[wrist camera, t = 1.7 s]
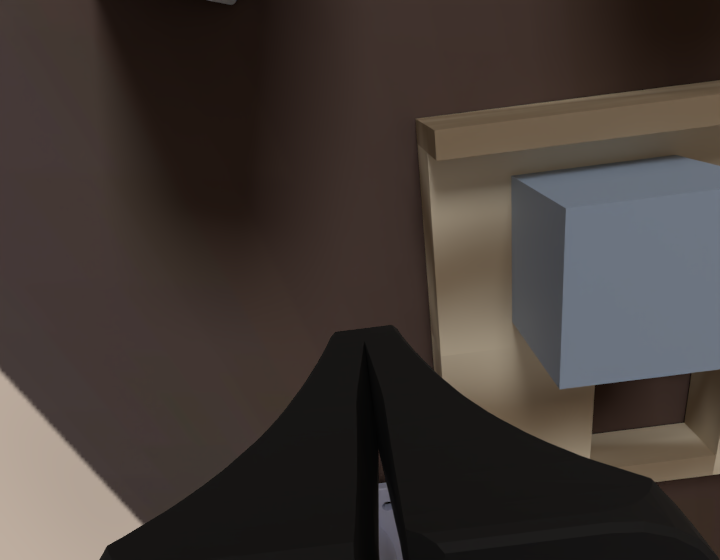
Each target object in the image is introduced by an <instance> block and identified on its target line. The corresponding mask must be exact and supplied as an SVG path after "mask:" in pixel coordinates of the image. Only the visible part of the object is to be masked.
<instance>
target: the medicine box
mask: <svg viewBox="0 0 720 560" xmlns="http://www.w3.org/2000/svg"><path fill="white" fill-rule="evenodd" d="M208 1H213V2H218V3H223V4H229V5H233V4H234V3H236V1H237V0H208Z"/></svg>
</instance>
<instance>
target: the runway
mask: <svg viewBox="0 0 720 560" xmlns="http://www.w3.org/2000/svg"><path fill="white" fill-rule="evenodd" d="M416 132H417V146H418V159H419V173H420V187H421V200H422V214H423V227H424V241H425V255H426V268H427V282H428V295H429V309H430V323H431V336H432V350H433V363H434V371H435V372H436V373H437V374H438V375H440V376H441V377H442V378H443V379H444V380H445V381H446V382H448V383H449V384H450V385H451V386H452V387H454V388H455V389H456V390H457V391H459V392H460V393H461V394H463V395H464V396H465V397H466V398H468V399H469V400H471V401H472V402H474V403H476V404H477V405H479V406H480V407H482V408H483V409H485V410H486V411H488V412H489V413H491V414H493V415H495V416H496V417H498V418H500V419H502V420H503V421H505V422H507V423H509V424H511V425H513V426H515V427H517V428H519V429H521V430H523V431H525V432H526V433H529V434H531V435H533V436H535V437H537V438H539V439H542V440H544V441H546V442H548V443H551V444H553V445H556V446H558V447H561V448H563V449H566V450H568V451H570V452H573V453H575V454H578V455H580V456H583V457H586V458H589V459H592V460H595V461H598V462H601V463H604V464H608V465H611V466H614V467H617V468H620V469H623V470H627V471H630V472H633V473H636V474H639V475H642V476H646V477H649V478H651V479H652V480H653V481H654V482H660V481H668V480H676V479H684V478H692V477H700V476H708V475H716V474H720V369H719V370H711V371H703V372H695V373H692V374H691V381H690V387H689V394H688V401H687V407H686V414H685V421H684V423H678V424H670V425H662V426H654V427H646V428H638V429H630V430H622V431H614V432H606V433H598V434H592V421H593V406H594V391H595V385H591V386H583V387H575V388H567V389H559V388H558V387H557V385H556V384H555V382H554V381H553V379H552V378H551V377H550V375H549V374H548V372H547V371H546V369H545V368H544V367H543V365H542V364H541V362H540V361H539V359H538V358H537V357H536V355H535V354H534V352H533V351H532V349H531V348H530V347H529V345H528V344H527V342H526V341H525V339H524V338H523V337H522V335H521V334H520V332H519V331H518V330H517V328H516V327H515V325H514V324H513V322H512V204H511V176H513V175H521V174H528V173H536V172H544V171H552V170H560V169H568V168H576V167H584V166H592V165H599V164H607V163H615V162H623V161H631V160H639V159H647V158H655V157H663V156H671V155H678V156H682V157H686V158H690V159H694V160H698V161H702V162H706V163H710V164H714V165H718V166H720V80H716V81H709V82H701V83H693V84H685V85H677V86H669V87H661V88H654V89H646V90H638V91H630V92H622V93H614V94H606V95H599V96H591V97H583V98H575V99H567V100H559V101H551V102H544V103H536V104H528V105H520V106H512V107H504V108H496V109H489V110H481V111H473V112H465V113H457V114H449V115H441V116H434V117H426V118H418V119H416Z"/></svg>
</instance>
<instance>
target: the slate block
mask: <svg viewBox="0 0 720 560" xmlns="http://www.w3.org/2000/svg"><path fill="white" fill-rule="evenodd" d="M511 204H512V322H513V324H514V325H515V327H516V328H517V330H518V331H519V332H520V334H521V335H522V337H523V338H524V339H525V341H526V342H527V344H528V345H529V347H530V348H531V349H532V351H533V352H534V354H535V355H536V357H537V358H538V359H539V361H540V362H541V364H542V365H543V367H544V368H545V369H546V371H547V372H548V374H549V375H550V377H551V378H552V379H553V381H554V382H555V384H556V385H557V387H558V388H559V389H567V388H575V387H583V386H591V385H599V384H607V383H615V382H623V381H631V380H639V379H647V378H655V377H663V376H671V375H679V374H687V373H695V372H703V371H711V370H719V369H720V166H718V165H714V164H710V163H706V162H702V161H698V160H694V159H690V158H686V157H682V156H678V155H671V156H663V157H655V158H647V159H639V160H631V161H623V162H615V163H607V164H599V165H592V166H584V167H576V168H568V169H560V170H552V171H544V172H536V173H528V174H521V175H513V176H511Z"/></svg>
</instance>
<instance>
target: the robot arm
mask: <svg viewBox="0 0 720 560" xmlns="http://www.w3.org/2000/svg"><path fill="white" fill-rule="evenodd" d="M378 449H379V453H380V457H381V462H382V466H383V471H384V475H385V480H386V483H379V464H378ZM385 502H391V503H389V504H384V503H385ZM100 560H719V559H718V556H717V555H716V554H715V553H714V551H713V550H712V549H711V548H710V546H709V545H708V544H707V542H706V541H705V540H704V539H703V537H702V536H701V535H700V533H699V532H698V531H697V529H696V528H695V527H694V526H693V524H692V523H691V522H690V521H689V520H688V518H687V517H686V516H685V515H684V514H683V512H682V511H681V510H680V509H679V508H678V506H677V505H676V504H675V503H674V502H673V501H672V500H671V499H670V498H669V497H668V496H667V495H666V494H665V493H664V492H663V491H662V490H661V489H660V487H659V486H658V485H657V484H656V483H655V482H654V481H653V480H652V479H651V478H649V477H646V476H642V475H639V474H636V473H633V472H630V471H627V470H623V469H620V468H617V467H614V466H611V465H608V464H604V463H601V462H598V461H595V460H592V459H589V458H586V457H583V456H580V455H578V454H575V453H573V452H570V451H568V450H566V449H563V448H561V447H558V446H556V445H553V444H551V443H548V442H546V441H544V440H542V439H539V438H537V437H535V436H533V435H531V434H529V433H526V432H525V431H523V430H521V429H519V428H517V427H515V426H513V425H511V424H509V423H507V422H505V421H503V420H502V419H500V418H498V417H496V416H495V415H493V414H491V413H489V412H488V411H486V410H485V409H483V408H482V407H480V406H479V405H477V404H476V403H474V402H472V401H471V400H469V399H468V398H466V397H465V396H464V395H463V394H461V393H460V392H459V391H457V390H456V389H455V388H454V387H452V386H451V385H450V384H449V383H448V382H446V381H445V380H444V379H443V378H442V377H441V376H440V375H438V374H437V373H436V372H435V371H434V370H433V369H432V368H431V367H430V366H429V365H428V364H427V363H426V362H425V361H424V360H423V359H422V358H421V357H420V356H419V355H418V354H417V353H416V352H415V351H414V350H413V349H412V347H411V346H410V345H409V344H408V343H407V342H406V340H405V339H404V338H403V337H402V335H401V334H400V333H399V331H398V330H397V329H396V328H395V327H394V326H392V325H388V326H380V327H372V328H364V329H356V330H348V331H340V332H335V333H334V334H333V335H332V337H331V338H330V340H329V342H328V344H327V347H326V348H325V350H324V352H323V354H322V356H321V358H320V359H319V361H318V363H317V365H316V366H315V368H314V369H313V371H312V372H311V374H310V376H309V377H308V379H307V380H306V382H305V383H304V385H303V386H302V388H301V389H300V390H299V392H298V393H297V394H296V396H295V397H294V398H293V400H292V401H291V403H290V404H289V405H288V407H287V408H286V409H285V410H284V412H283V413H282V414H281V415H280V416H279V418H278V419H277V420H276V421H275V422H274V423H273V424H272V426H271V427H270V428H269V429H268V430H267V431H266V432H265V433H264V434H263V435H262V436H261V437H260V438H259V439H258V440H257V441H256V442H255V443H254V444H253V445H251V446H250V447H249V448H248V449H247V450H246V451H245V452H244V453H242V454H241V455H240V456H239V457H238V458H237V459H236V460H234V461H233V462H232V463H231V464H230V465H229V466H228V467H226V468H225V469H224V470H223V471H222V472H220V473H219V474H218V475H216V476H215V477H214V478H212V479H211V480H210V481H209V482H207V483H206V484H205V485H203V486H202V487H200V488H199V489H198V490H196V491H195V492H193V493H192V494H191V495H189V496H188V497H186V498H185V499H183V500H182V501H181V502H179V503H178V504H176V505H175V506H173V507H172V508H170V509H169V510H167V511H165V512H164V513H162V514H160V515H159V516H157V517H155V518H154V519H152V520H150V521H149V522H147V523H145V524H144V525H142V526H140V527H139V528H137V529H136V530H134V531H132V532H131V533H129V534H127V535H126V536H124V537H122V538H121V539H119V540H117V541H115V542H113V543H112V544H110V545H108V546H107V547H106V549H105V551H104V553H103V555H102V556H101V558H100Z"/></svg>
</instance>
